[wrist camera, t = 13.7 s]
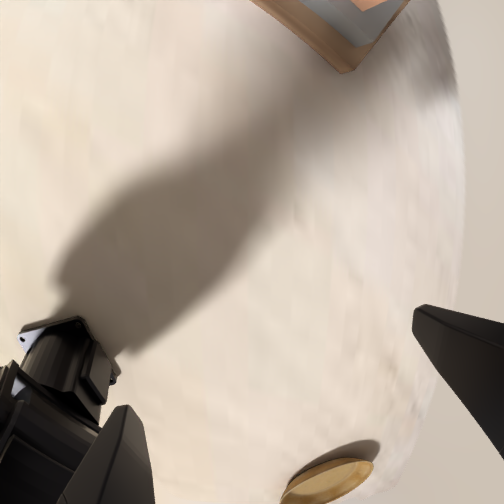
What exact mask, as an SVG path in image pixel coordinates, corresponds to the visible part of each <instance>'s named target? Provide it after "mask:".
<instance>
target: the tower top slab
mask: <svg viewBox="0 0 504 504" xmlns="http://www.w3.org/2000/svg"><path fill="white" fill-rule="evenodd" d="M299 1H300V2H302V3H303V4H304V5H306V6H307V7H308V8H310V9H311V10H312V11H313V12H315V13H316V14H317V15H318V16H320V17H321V18H322V19H323V20H325V21H326V22H327V23H328V24H329V25H331V26H332V27H333V28H334V29H335V30H337V31H338V32H339V33H340V34H341V35H342V36H343V37H345V38H346V39H347V40H348V41H349V42H350V43H351V44H352V45H353V46H355V47H356V48H357V47H360V46H363V45H366V44H369V43H372V42H374V41H375V39H376V38H377V36H378V35H379V34H380V32H381V31H382V30H383V28H384V27H385V25H386V24H387V23H388V21H389V20H390V19H391V17H392V16H393V15H394V13H395V12H396V11H397V9H398V8H399V7H400V5H401V4H402V2H403V1H404V0H387V1H384V2H382V3H380V4H378V5H376V6H374V7H371V8H369V9H367V10H365V11H363V12H362V11H361V10H360V9H359V8H358V7H357V6H356V5H355V4H354V3H353V2H351V1H350V0H299Z"/></svg>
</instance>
